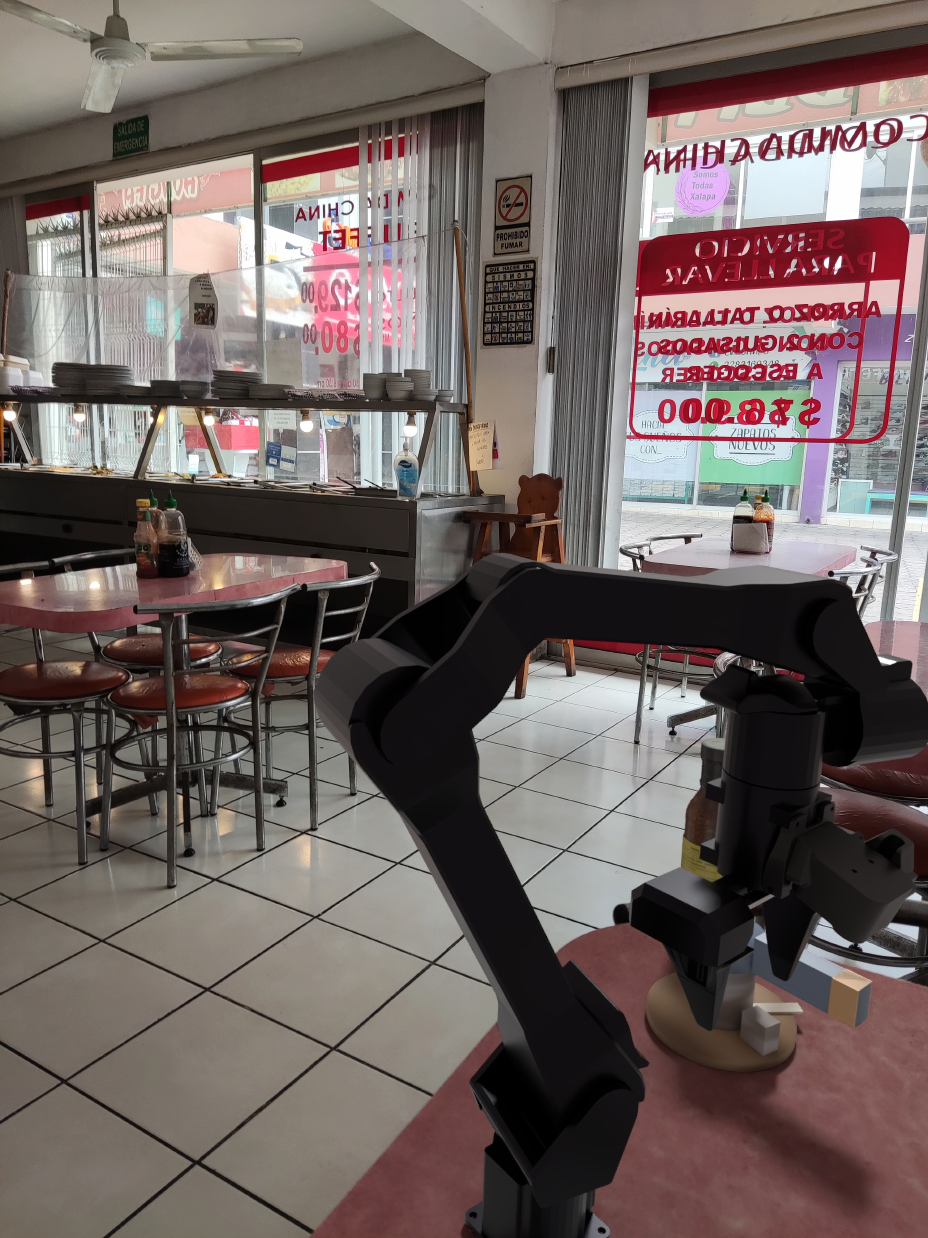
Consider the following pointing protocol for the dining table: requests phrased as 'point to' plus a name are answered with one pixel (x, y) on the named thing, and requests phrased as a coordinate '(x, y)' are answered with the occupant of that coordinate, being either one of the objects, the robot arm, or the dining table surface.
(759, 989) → the tan disc with post
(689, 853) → the sauce bottle
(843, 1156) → the dining table surface
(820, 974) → the orange-banded blue bar
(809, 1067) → the dining table surface
